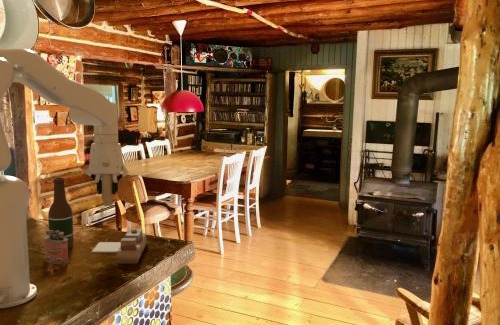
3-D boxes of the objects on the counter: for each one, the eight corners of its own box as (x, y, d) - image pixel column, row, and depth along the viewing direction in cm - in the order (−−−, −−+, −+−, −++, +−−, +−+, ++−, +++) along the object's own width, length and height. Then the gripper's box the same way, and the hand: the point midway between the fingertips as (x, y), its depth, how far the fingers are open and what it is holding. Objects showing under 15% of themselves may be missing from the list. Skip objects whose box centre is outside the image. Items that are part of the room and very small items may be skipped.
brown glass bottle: (78, 243, 147) (75, 176, 143) (66, 251, 139) (63, 180, 136) (57, 242, 148) (54, 175, 144) (44, 250, 140) (41, 179, 136)
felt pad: (119, 252, 140) (119, 251, 140) (91, 252, 139) (91, 251, 139) (125, 243, 149) (125, 242, 148) (99, 243, 148) (99, 242, 148)
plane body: (137, 263, 131) (136, 240, 130) (117, 263, 130) (116, 240, 129) (146, 243, 149) (146, 223, 148) (129, 243, 148) (128, 223, 147)
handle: (112, 202, 145) (111, 159, 143) (117, 206, 140) (116, 162, 138) (98, 204, 143) (97, 160, 140) (102, 208, 137) (101, 163, 135)
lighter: (71, 261, 131) (70, 230, 130) (63, 265, 128) (62, 233, 127) (49, 257, 133) (48, 227, 132) (42, 261, 130) (40, 230, 129)
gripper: (76, 140, 134) (78, 196, 136) (129, 140, 135) (130, 196, 138) (83, 137, 141) (85, 190, 144) (134, 138, 142) (135, 191, 145)
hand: (107, 193), depth 141 cm, fingers closed on handle, 4 cm apart
